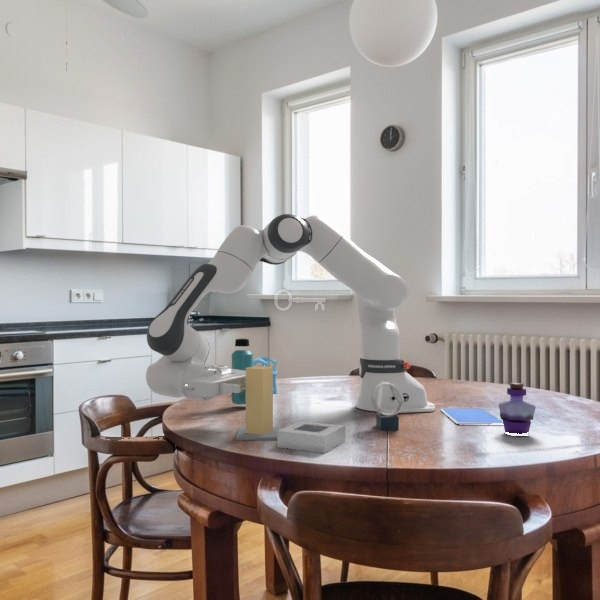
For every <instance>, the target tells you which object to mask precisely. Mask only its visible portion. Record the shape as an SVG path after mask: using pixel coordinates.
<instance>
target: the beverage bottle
mask: <svg viewBox="0 0 600 600" xmlns="http://www.w3.org/2000/svg"><path fill="white" fill-rule="evenodd" d="M234 341H235V343H234V346H235V347H250V339H248V338H236V339H235V340H234ZM253 360H254V354H253V352H252V351H251V350H247V349H236V350H234V352H232V353H231V369H238V370H244V371H246V368H248V367H253ZM230 394H231V402H232V404H235V405H246V389H243V391H242V392H240V393H230Z"/></svg>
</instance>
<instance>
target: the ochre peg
mask: <svg viewBox="0 0 600 600" xmlns="http://www.w3.org/2000/svg"><path fill="white" fill-rule="evenodd" d="M273 367H274V366H268V367H266V365H264V366H262V365H256V366H253V367H248V368H246V404H245V427H246V433H251V434H258V435H264V434H267V433H269V432H271V431H273V427H274V393H273Z"/></svg>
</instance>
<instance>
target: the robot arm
mask: <svg viewBox="0 0 600 600" xmlns="http://www.w3.org/2000/svg"><path fill="white" fill-rule="evenodd" d="M298 252H303V253H305V254H307V255H308V256H310V257H311V258H312V259H313V260H314V261H315V262H316V263H318V264H319V265H320V266H321V267H322V268H323V269H324V270H326V272H328V273H329V274H331V276H333V277H334V278H335V279H336V280H337V281H338V282H339V283H342V284H343V285H345V287H348V288H349V289H350V290H352V291H353V292H355V297H356V300H357V310H358V317H359V323H360V332H361V333H360V334H361V335H360V337H361V338H360V340H361V347H360V348H361V350H360V351H361V353H360V355H361V357H360V358H359V365H358V367H359V368H358V369H359V372H358V373H359V377H360V382H359V383H360V384H359V391H358V395H357V400H356V403H355V407H356V408H357V409H360V410H363V411H370V412H376V413H378V412H377V410H376V409H375V407H374V406H373V403H372V401H371V393H372V390H373V389H374V387H375V386H376V385H378V384H380V383H383V382H388V383H391V384H393V383H394V384H395V385H396V386H397V387H398V389H399V390H400V392H401V394H402V395H403V397H404V401H403V407H402V409H401V410H400V411H399V413H400V414H401V413H403V414H404V413H427V412H429V413H430V412H434V411H435V410H436V405H435V404H434V403H433V402H431V401H428V397H427V396H428V395H427V392H426V388H425V386H424V385H423V384H422V383H421V382H419V381H418V380H417V379H416V378H415V377H413V376H412V375H411V374H409V373H408V370H409V369H410V368H411V366H412V365H411V363H410V361H406V360H403V359H402V358H400V357H401V356H400V355H401V354H400V352H401V348H400V344H401V343H400V340H401V339H400V336H401V335H400V334H401V333H400V329H399V327H398V323H397V319H396V318H397V317H396V314H395V313H396V312H395V310H397V309H398V308H400V307H401V306H402V305H404V304H405V302H406V301H407V299H408V296H409V286H408V283H407V282H406V280H405V279H403V278H402V277H401V276H400V275H398V274H397V273H395V272H394V271H392V270H391V269H390V268H388V267H386V266H385V265H384V264H383V263H381V262H380V261H378V260H377V259H375V258H374V257H373V256H371V255H369V254H368V253H367V252H365V251H364V250H363V249H362V248H360V247H359V246H358V245H357V244H356V243H354V242H353V241H352V240H351V238H349V237H347V235H346V234H345V233H343V232H342V231H341V230H340V229H338V227H336V226H334V225H333V224H331V222H329V221H327V220H325V218H323V217H320V216H318V215H310V216H307V217H305V218H303V217H299V216H297V215H294V214H291V213H283V214H280V215H277V216H275V217H274V218H273V219H272V220H271V221H270V222H269V223H267V225H265V227H264V228H263V229H261V230H260V229H256V228H255V227H253V226H251V225H247V224H242V225H238V226H236V227H234V228H233V229H232V231H231V232H230V233H229V234H228V235H227V236H226V238H225V239H224V240H223V242H222V243H221V245H220V246H219V248H218V250H217V251H216V253H215V255H214V256H213V258H211V260H210V261H209V262H208V263H203V264H201V265H200V266H198V267H197V268H196V269H195V270H194V271H193V272H192V273H191V274H190V276H189V277H188V278H187V279H186V281H185V282H184V283H183V285H182V286H181V287H180V288H179V290H178V291H177V292H176V294H175V295H174V296H173V297H172V299H171V300H170V301H169V302H168V304H167V305H166V306H165V307H164V309H162V310H161V311H160V312H159V313H158V314H157V315H156V316H155V317H154V318H153V319H152V320H151V321H150V323H149V324H148V327H147V331H146V342H147V345H148V347H149V349H151V350H152V351H153V352H156V353H157V354H159V355H162V356H161V357H160V358H159V359H158V360H156V361H155V362H153V363H152V364H150V365H148V367H147V368H146V371H145V372H146V373H145V380H146V385H147V386H148V388H149V389H150V390H151V391H152V392H153V393H154V394H157V395H159V396H164V397H167V398H168V397H170V398H176V399H177V398H186V399H189V400H195V401H196V400H198V401H211V400H212V399H213V398H215V397H220V396H223V395H228V394H232V393H240V392H242V391H243V389H246V371H244V370H238V369H232V368H229V366H228V365H216V364H209V363H206V362H207V360H208V356H209V354H210V343H209V341H208V339H207V338H206V337H205V336H203V334H201V333H200V332H199V331H198V330H196V329H194V328H193V327H192V326H190V325H189V324H188V318H189V316H190V315H191V313H192V312H194V310H195V308H196V307H197V306H198V304H199V303H200V302H201V301H202V300H203V298H204V296H206V295H207V294H209V293H210V292H211V293H212V292H217V293H222V294H233V293H237V292H239V291H241V290H242V289H243V288H245V286H246V285H247V283H248V281H249V280H250V278H251V277H252V274H253V272H254V270H255V269H256V266H257V265H258V264H259V262H261V263H265V264H267V265H273V266H274V265H282V264H285V262H287V261H289V260H290V259H292V258H293V257H294V256H296V254H297V253H298ZM374 396H375V400H376V403H377V405H378V407H379V408H380V409H381V412H383V413H391V412H393V411H395V410H396V409H397V407H398V406H399V403H398V401H397V400H396V399H395V397H394V396H393V394H392V392H391V390H390V386H389V385H384V386H381V387H380V388H378V389H377V390H376V392H375V394H374ZM399 413H398V414H399Z"/></svg>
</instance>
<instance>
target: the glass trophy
mask: <svg viewBox="0 0 600 600" xmlns="http://www.w3.org/2000/svg"><path fill="white" fill-rule="evenodd" d="M384 385H389V386H390V390H391V392H392V394H393V396H394V397H395V399H396V400H397V401H398V403H399V406H398V407H397V409H396V410H395V411H393V412H391V413H383V412H381V409H380V408H379V407H378V405H377V403H376V400H375V396H374V394H375V392H376V390H377V389H378V388H380V387H381V386H384ZM371 401H372V403H373V406H374V407H375V409H376V410H377V412H376V413H375V419H376V420H375V427H377V428H378V429H379V431H381V432H382V431H399V429H400V423H399V419H400V417H399V416H398V415H397V414H399V411H400V410H401V409H402V407H403V401H404V397H403V395H402V394H401V392H400V390H399V389H398V387H397V386H396V385H395V384H394V383H393V384H391V383H388V382H383V383H380V384H378V385H376V386H375V387H374V389H373V390H372V393H371Z"/></svg>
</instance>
